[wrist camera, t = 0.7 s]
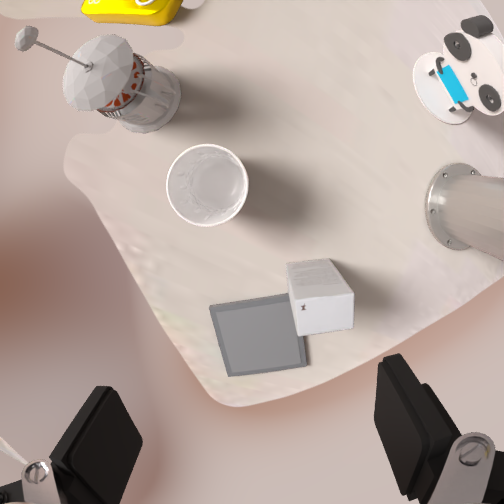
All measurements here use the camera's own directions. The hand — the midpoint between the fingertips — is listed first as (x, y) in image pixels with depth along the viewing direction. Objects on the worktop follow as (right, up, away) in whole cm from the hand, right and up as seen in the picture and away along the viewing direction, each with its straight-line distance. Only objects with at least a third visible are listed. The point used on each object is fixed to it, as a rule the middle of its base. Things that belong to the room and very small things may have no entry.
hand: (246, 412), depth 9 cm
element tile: (-16, +46, +21) cm, 53 cm away
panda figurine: (+28, +29, +23) cm, 47 cm away
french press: (-13, +25, +26) cm, 39 cm away
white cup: (-4, +14, +29) cm, 32 cm away
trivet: (+1, -7, +34) cm, 34 cm away
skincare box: (+8, +2, +31) cm, 32 cm away
